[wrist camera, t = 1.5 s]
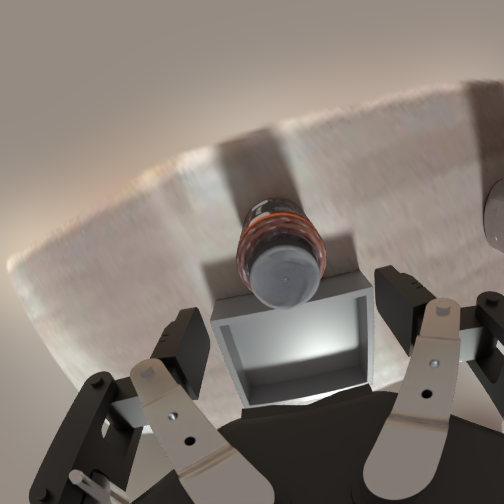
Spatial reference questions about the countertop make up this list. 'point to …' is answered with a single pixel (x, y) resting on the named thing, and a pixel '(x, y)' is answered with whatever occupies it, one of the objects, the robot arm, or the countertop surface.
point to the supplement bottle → (280, 254)
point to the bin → (299, 343)
